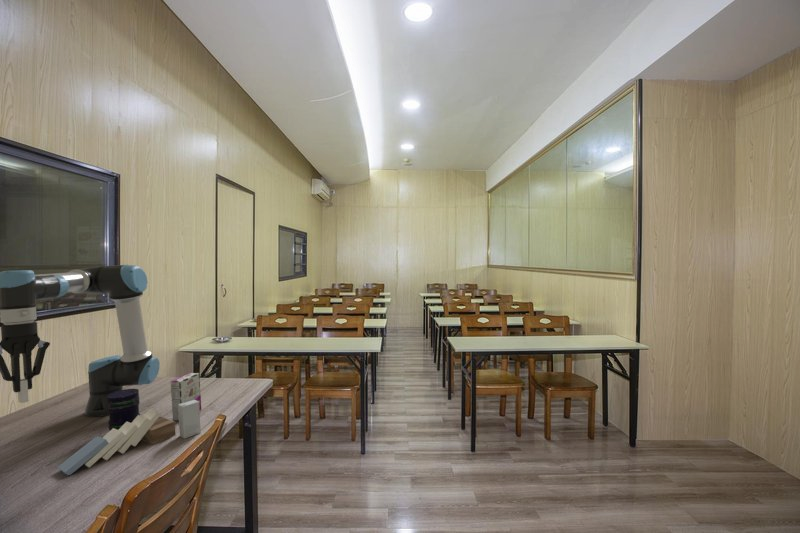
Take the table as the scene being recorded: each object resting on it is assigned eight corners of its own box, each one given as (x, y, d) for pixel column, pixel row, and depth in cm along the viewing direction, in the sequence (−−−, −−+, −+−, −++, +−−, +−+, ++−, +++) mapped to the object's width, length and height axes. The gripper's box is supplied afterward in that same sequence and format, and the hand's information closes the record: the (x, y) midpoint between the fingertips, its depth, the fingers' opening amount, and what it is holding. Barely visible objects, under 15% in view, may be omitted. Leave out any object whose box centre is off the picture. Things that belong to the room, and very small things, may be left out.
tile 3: (110, 447, 130) (138, 414, 137) (114, 449, 131) (141, 417, 138) (119, 451, 127) (146, 417, 134) (123, 453, 128) (150, 420, 135)
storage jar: (106, 440, 138) (104, 399, 138) (112, 429, 147) (110, 391, 147) (138, 433, 143) (137, 394, 143) (142, 423, 152) (140, 386, 151)
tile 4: (122, 440, 133) (148, 408, 140) (126, 442, 134) (152, 411, 141) (131, 444, 130) (157, 411, 137) (135, 446, 131) (161, 414, 138)
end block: (138, 438, 139) (137, 424, 139) (160, 429, 146) (160, 416, 146) (152, 444, 134) (151, 430, 134) (175, 434, 141) (174, 421, 141)
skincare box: (196, 430, 144) (195, 398, 144) (201, 433, 142) (199, 401, 141) (178, 436, 140) (177, 403, 139) (183, 439, 137) (182, 406, 137)
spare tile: (57, 467, 117) (97, 435, 126) (60, 471, 118) (100, 439, 127) (65, 472, 114) (105, 439, 123) (68, 476, 115) (108, 443, 124)
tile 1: (77, 459, 122) (113, 428, 130) (80, 463, 123) (116, 431, 131) (85, 464, 119) (121, 431, 127) (89, 467, 120) (125, 435, 128)
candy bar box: (191, 409, 165) (190, 372, 164) (201, 410, 164) (200, 372, 163) (171, 420, 154) (169, 380, 153) (182, 421, 153) (180, 381, 152)
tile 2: (94, 453, 126) (126, 421, 134) (98, 456, 127) (130, 424, 135) (102, 457, 123) (135, 424, 131) (106, 460, 124) (138, 427, 132)
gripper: (-9, 327, 104) (-4, 411, 104) (53, 319, 115) (56, 396, 115) (-17, 325, 107) (-13, 407, 108) (43, 318, 119) (47, 392, 119)
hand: (23, 401), depth 112 cm, fingers closed
